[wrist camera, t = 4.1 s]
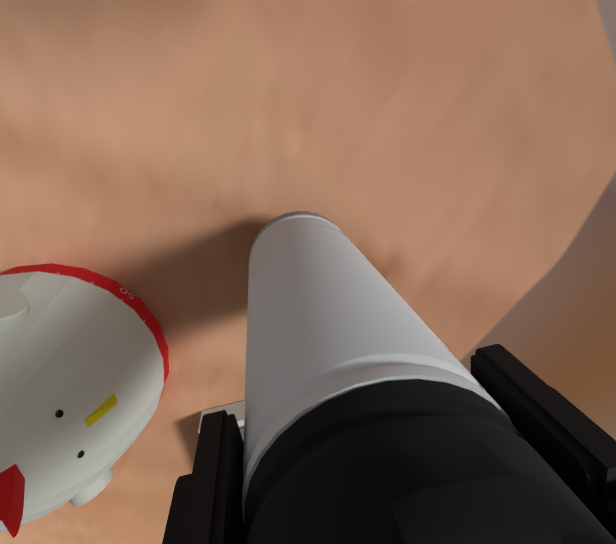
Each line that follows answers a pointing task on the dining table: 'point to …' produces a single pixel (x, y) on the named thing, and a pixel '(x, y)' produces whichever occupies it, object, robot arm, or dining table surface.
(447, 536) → the travel mug
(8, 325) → the kitchen timer
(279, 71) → the dining table surface
